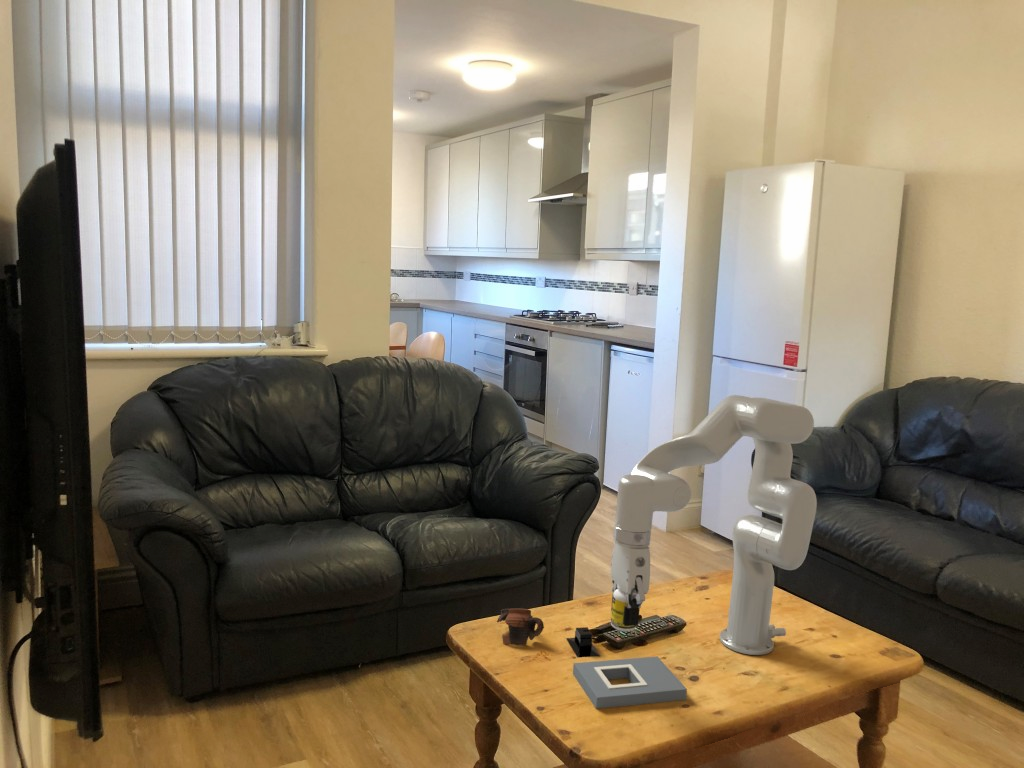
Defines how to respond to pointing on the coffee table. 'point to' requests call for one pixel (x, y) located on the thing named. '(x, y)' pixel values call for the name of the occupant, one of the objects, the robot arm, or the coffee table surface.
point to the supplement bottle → (620, 610)
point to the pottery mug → (520, 626)
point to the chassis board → (643, 673)
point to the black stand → (583, 643)
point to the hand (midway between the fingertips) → (624, 617)
